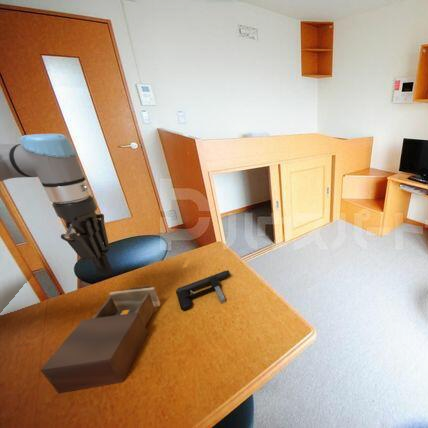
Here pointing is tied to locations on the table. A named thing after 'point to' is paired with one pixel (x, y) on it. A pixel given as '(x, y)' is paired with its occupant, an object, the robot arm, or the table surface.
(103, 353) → the cabinet
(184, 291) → the black clamp
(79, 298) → the table surface
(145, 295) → the drawer
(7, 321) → the table surface
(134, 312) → the box cutter
